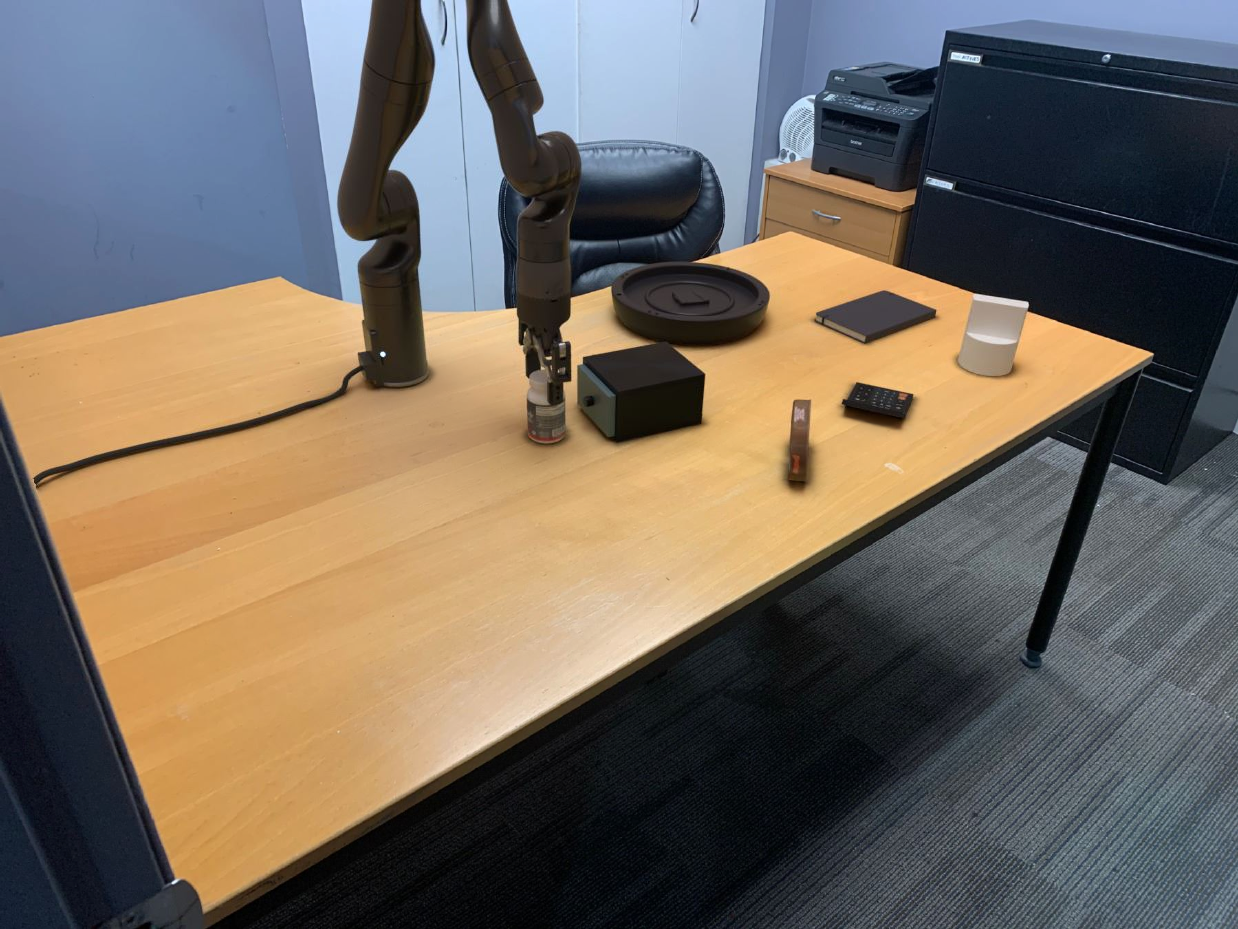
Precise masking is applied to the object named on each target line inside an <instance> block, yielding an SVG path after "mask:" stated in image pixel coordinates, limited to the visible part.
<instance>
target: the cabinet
mask: <svg viewBox="0 0 1238 929" xmlns="http://www.w3.org/2000/svg"><path fill="white" fill-rule="evenodd" d="M582 364H585V365H586V366H587V367H588V368H589V369H590V370H591V371H592V372H593V373H595V374H596V375H597V376H598V377H599V378H600V379H601V380H602V381H603V382H604V383H605V384H606V385H607V386H608V387H609V388H610V389H611V390H612V391H613V392H614V393H615V394H616V410H615V436H611V437H610V438H612V440H614V442H615V443H617V444H618V443H622V442H627V441H632V440H636V439H639V438H644V437H645V438H646V437H649V436H652V435H657V434H663V433H667V432H671V431H676V430H680V429H684V428H688V427H692V426H697V425H701V424H702V420H703V411H704V410H703V409H704V398H705V384H706V373H705V372H704V371H703V370H701V369H700V368H699V367H698V366H697V365H695V363H693V362H692V361H691V360H689V359H688V358H687V357H685V356H684V355H683V354H682V353H681V352H679V351H678V350H677V349H676V348H675V347H674V346H672V345H671V343H667V342H666V341H665V342H661V341H659V342H655V343H650V344H645V345H638V346H633V347H627V348H622V349H618V350H613V351H606V352H600V353H596V354H590V355H584V356H583V357H582Z"/></svg>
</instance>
